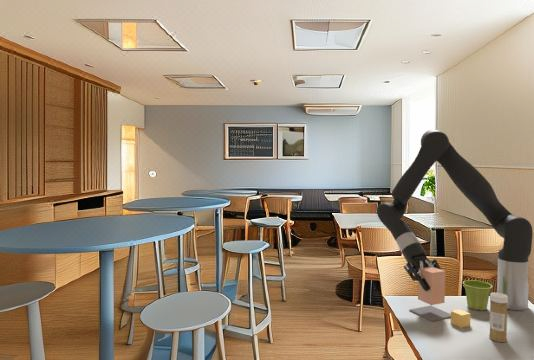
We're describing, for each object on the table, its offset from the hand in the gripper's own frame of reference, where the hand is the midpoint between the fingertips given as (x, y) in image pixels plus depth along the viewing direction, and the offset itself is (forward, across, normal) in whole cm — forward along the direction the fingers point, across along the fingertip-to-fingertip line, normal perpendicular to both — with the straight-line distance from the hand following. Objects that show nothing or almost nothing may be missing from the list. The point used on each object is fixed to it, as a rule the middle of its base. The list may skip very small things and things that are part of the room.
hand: (435, 288), depth 130 cm
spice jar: (+21, +3, -8) cm, 23 cm away
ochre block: (+13, +2, +1) cm, 13 cm away
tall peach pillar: (+2, 0, +5) cm, 5 cm away
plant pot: (+7, +20, +6) cm, 22 cm away
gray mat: (+5, 0, +8) cm, 9 cm away
